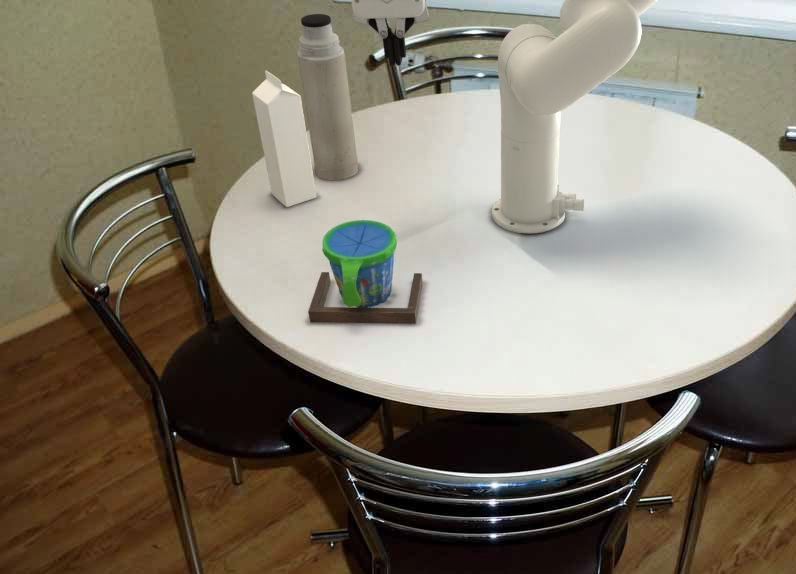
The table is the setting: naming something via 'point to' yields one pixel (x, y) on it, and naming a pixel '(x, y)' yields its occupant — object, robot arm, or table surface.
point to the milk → (284, 141)
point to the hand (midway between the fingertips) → (396, 62)
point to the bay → (363, 314)
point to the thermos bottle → (327, 99)
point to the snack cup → (361, 261)
